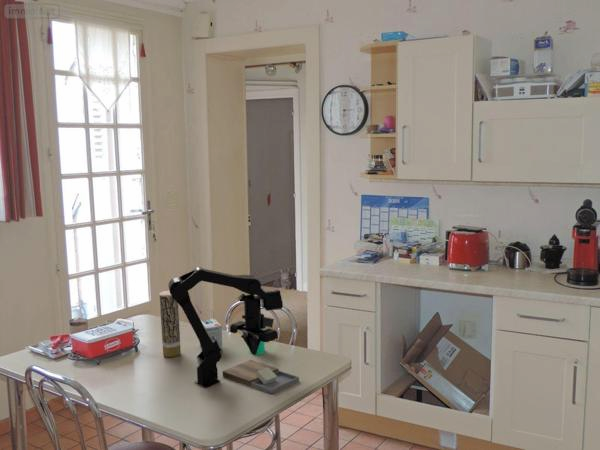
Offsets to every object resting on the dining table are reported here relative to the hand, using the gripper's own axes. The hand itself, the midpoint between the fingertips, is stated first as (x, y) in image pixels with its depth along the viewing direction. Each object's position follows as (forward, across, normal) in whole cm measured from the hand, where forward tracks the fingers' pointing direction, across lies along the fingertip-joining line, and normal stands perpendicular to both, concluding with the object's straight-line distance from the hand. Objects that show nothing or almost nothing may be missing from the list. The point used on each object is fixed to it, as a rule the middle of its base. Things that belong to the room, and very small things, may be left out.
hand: (254, 354), depth 221 cm
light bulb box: (+8, +34, -9) cm, 36 cm away
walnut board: (+8, +2, 0) cm, 8 cm away
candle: (+8, +17, -18) cm, 26 cm away
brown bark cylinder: (+8, +41, +5) cm, 42 cm away
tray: (+8, -10, 0) cm, 13 cm away
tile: (+7, -6, +1) cm, 9 cm away
